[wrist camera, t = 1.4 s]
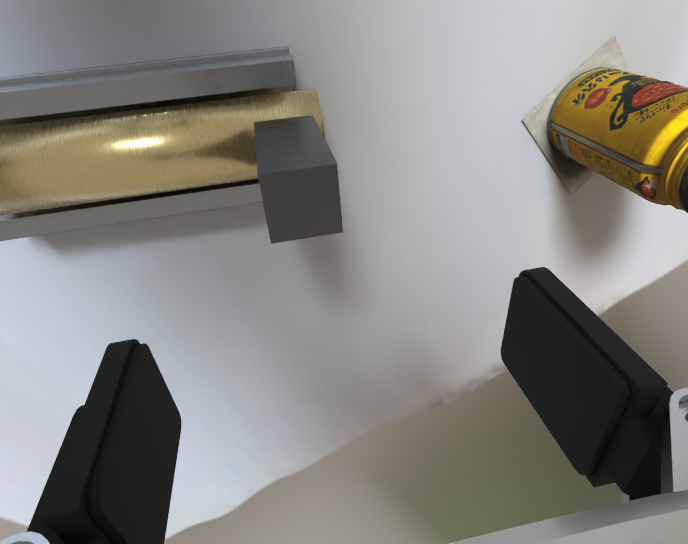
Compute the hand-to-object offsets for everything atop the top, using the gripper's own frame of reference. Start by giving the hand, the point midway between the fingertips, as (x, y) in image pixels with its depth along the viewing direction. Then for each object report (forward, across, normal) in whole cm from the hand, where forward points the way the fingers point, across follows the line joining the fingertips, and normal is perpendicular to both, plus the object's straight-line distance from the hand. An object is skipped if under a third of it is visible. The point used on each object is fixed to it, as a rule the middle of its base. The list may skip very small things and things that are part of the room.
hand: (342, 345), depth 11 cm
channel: (+20, +8, -1) cm, 21 cm away
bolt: (+20, +8, -1) cm, 21 cm away
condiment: (+20, -22, +2) cm, 30 cm away
